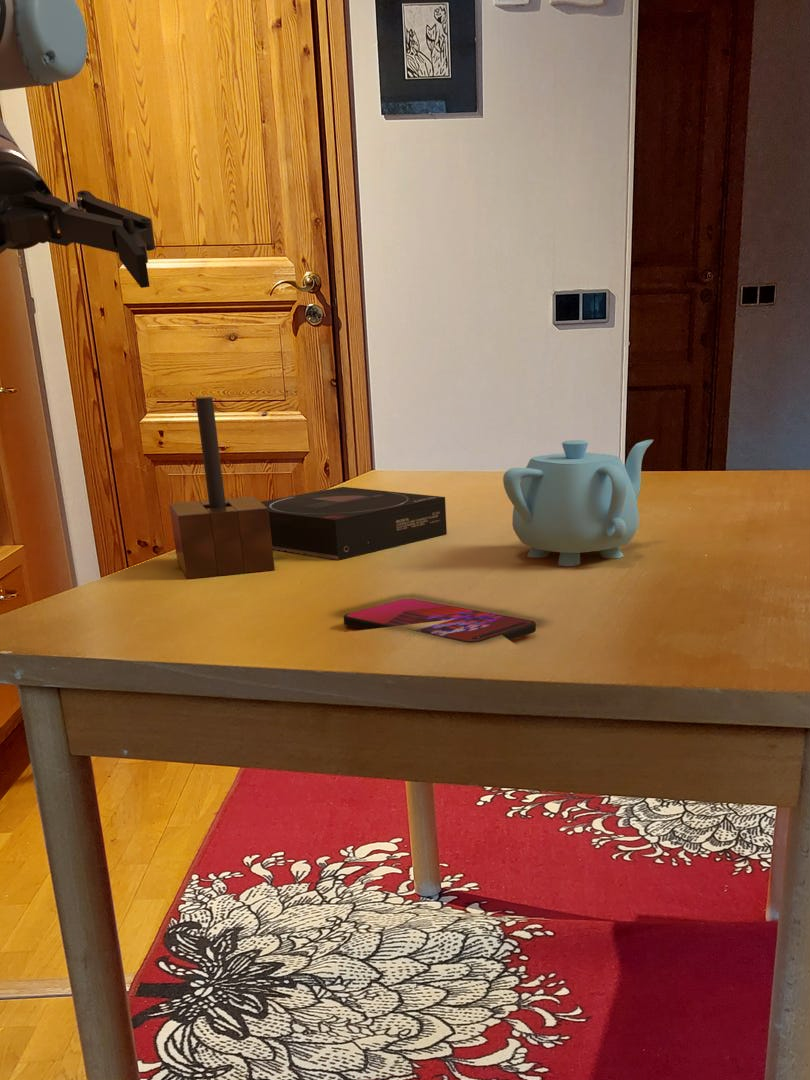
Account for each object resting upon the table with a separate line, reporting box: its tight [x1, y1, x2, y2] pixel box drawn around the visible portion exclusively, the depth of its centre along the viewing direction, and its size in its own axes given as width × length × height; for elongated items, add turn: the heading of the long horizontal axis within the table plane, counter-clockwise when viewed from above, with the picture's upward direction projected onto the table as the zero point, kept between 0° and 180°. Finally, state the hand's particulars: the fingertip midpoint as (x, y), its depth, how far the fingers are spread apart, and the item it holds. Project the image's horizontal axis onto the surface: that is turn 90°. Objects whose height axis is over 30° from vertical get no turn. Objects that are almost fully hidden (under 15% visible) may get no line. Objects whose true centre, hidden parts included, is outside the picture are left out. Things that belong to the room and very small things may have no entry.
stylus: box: [195, 396, 226, 508], centre depth 115 cm, size 2×2×16 cm
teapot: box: [502, 439, 654, 567], centre depth 116 cm, size 13×14×11 cm
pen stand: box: [168, 495, 276, 580], centre depth 117 cm, size 9×9×6 cm
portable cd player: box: [260, 486, 448, 561], centre depth 129 cm, size 16×17×4 cm
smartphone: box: [343, 598, 537, 644], centre depth 92 cm, size 8×1×15 cm
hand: (63, 282), depth 98 cm, fingers open, 13 cm apart
